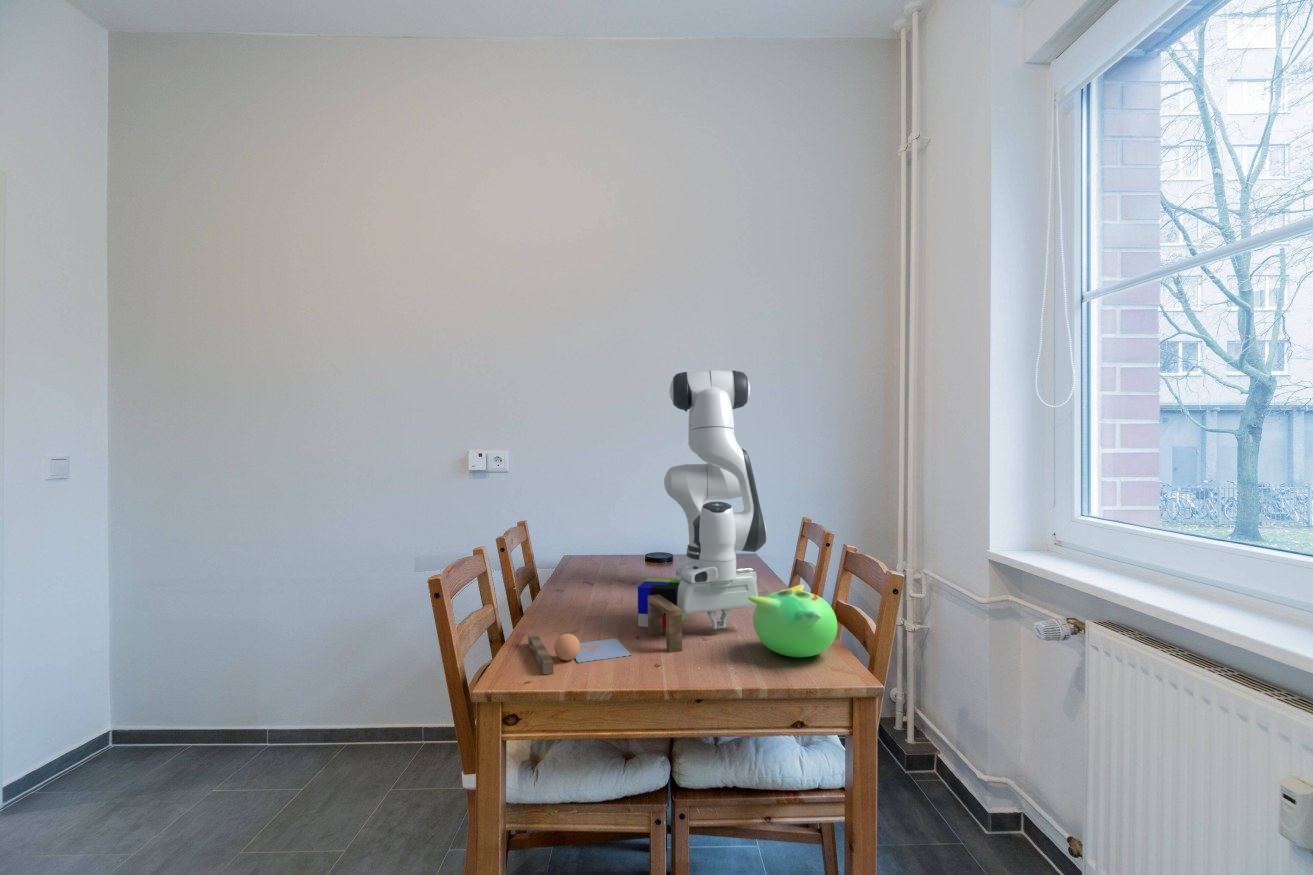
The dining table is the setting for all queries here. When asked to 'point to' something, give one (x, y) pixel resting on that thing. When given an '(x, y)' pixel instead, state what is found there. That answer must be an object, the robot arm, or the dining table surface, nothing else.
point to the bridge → (672, 621)
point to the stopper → (540, 653)
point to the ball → (567, 647)
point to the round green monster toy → (794, 622)
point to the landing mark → (601, 650)
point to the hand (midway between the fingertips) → (718, 627)
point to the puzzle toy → (656, 587)
